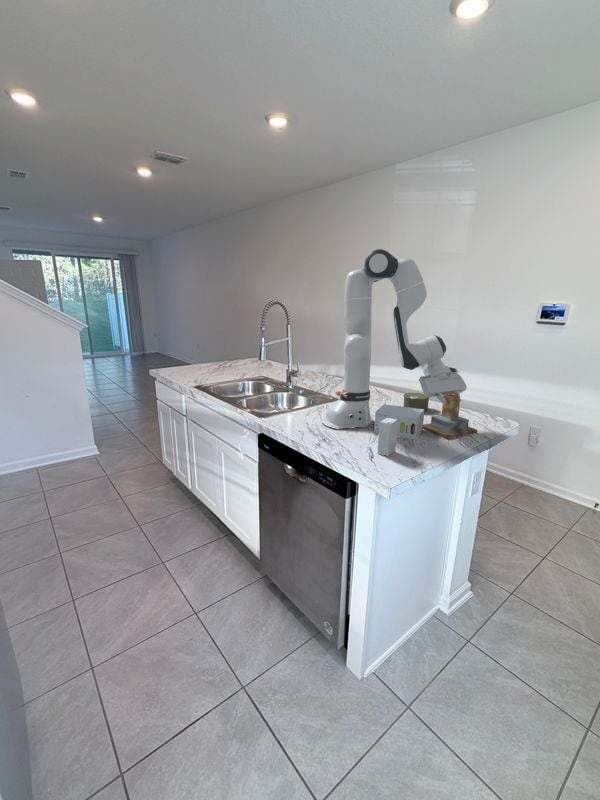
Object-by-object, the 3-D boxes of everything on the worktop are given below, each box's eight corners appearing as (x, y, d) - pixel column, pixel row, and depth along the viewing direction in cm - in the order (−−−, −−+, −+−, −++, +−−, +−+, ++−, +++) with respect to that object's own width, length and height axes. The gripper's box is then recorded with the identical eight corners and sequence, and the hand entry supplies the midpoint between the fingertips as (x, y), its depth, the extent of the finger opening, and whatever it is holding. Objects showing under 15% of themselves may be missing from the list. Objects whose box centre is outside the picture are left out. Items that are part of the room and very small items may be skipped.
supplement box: (373, 433, 149) (374, 411, 147) (383, 424, 160) (384, 403, 158) (416, 440, 141) (417, 417, 139) (423, 430, 152) (424, 408, 150)
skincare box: (384, 448, 133) (386, 416, 130) (396, 451, 130) (398, 419, 127) (376, 453, 129) (378, 421, 126) (388, 457, 126) (390, 423, 123)
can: (432, 408, 182) (433, 395, 180) (422, 414, 173) (423, 400, 171) (409, 404, 190) (410, 391, 188) (398, 409, 181) (399, 396, 179)
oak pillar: (450, 419, 147) (451, 397, 144) (441, 416, 151) (443, 395, 148) (458, 418, 148) (460, 396, 146) (449, 415, 152) (451, 394, 150)
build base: (446, 439, 142) (448, 425, 140) (421, 428, 154) (422, 415, 153) (476, 433, 148) (478, 419, 146) (450, 423, 160) (451, 410, 159)
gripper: (421, 372, 147) (437, 401, 141) (459, 368, 155) (476, 396, 149) (413, 381, 152) (428, 409, 146) (450, 376, 160) (466, 404, 154)
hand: (452, 402), depth 147 cm, fingers open, 5 cm apart
